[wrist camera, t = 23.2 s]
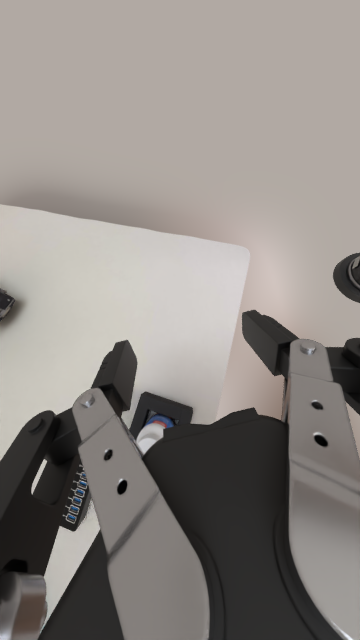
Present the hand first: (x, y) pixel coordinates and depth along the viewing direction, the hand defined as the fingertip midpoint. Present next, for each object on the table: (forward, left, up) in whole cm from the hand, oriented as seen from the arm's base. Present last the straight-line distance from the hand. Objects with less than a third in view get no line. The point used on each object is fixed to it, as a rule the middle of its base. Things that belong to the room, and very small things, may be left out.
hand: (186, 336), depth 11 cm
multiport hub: (+20, +19, -24) cm, 37 cm away
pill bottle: (+6, +13, -24) cm, 28 cm away
